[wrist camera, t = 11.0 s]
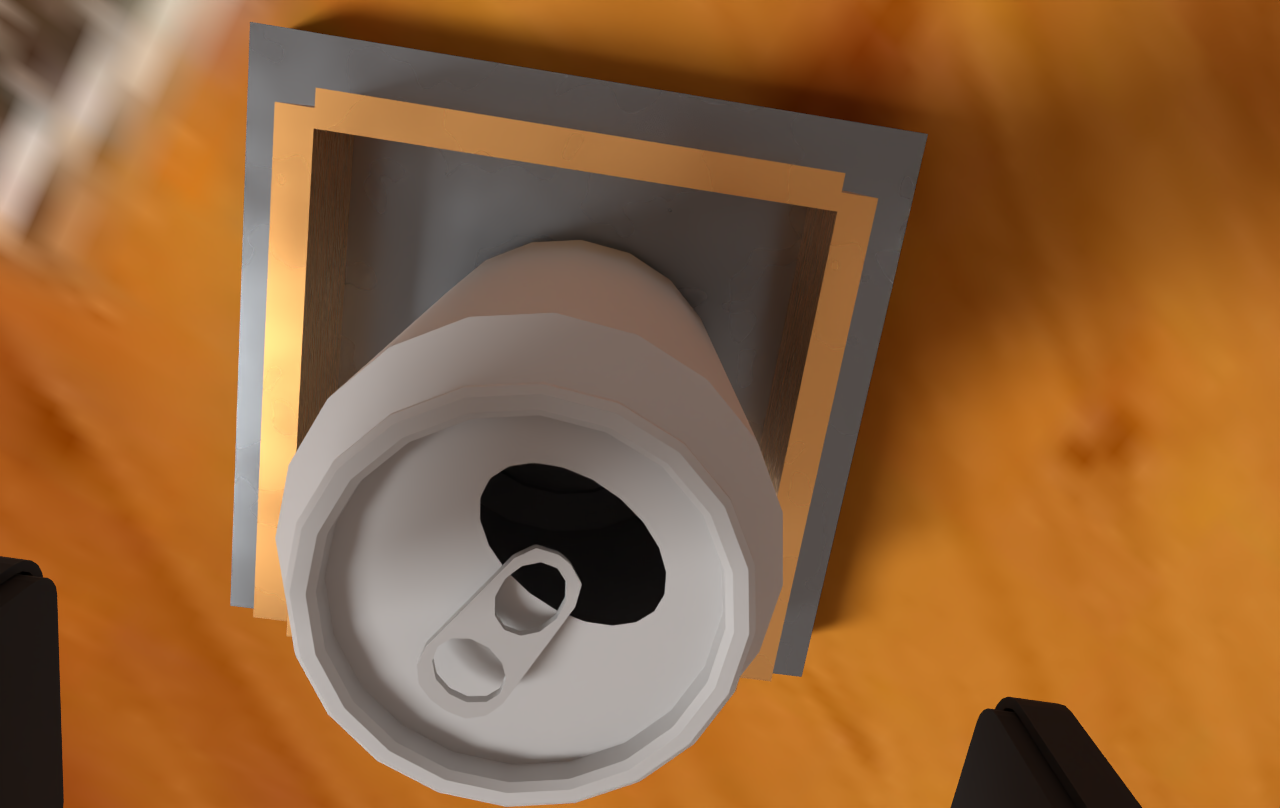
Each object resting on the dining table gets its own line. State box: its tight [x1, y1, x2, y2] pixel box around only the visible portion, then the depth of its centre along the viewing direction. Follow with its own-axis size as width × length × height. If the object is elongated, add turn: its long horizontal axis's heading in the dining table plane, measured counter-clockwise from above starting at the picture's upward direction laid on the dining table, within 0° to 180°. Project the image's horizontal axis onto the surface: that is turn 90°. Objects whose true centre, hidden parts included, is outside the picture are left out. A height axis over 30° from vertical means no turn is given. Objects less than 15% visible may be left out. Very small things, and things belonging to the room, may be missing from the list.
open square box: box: [231, 22, 928, 691], centre depth 23 cm, size 16×15×5 cm
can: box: [275, 240, 783, 807], centre depth 18 cm, size 8×8×12 cm
